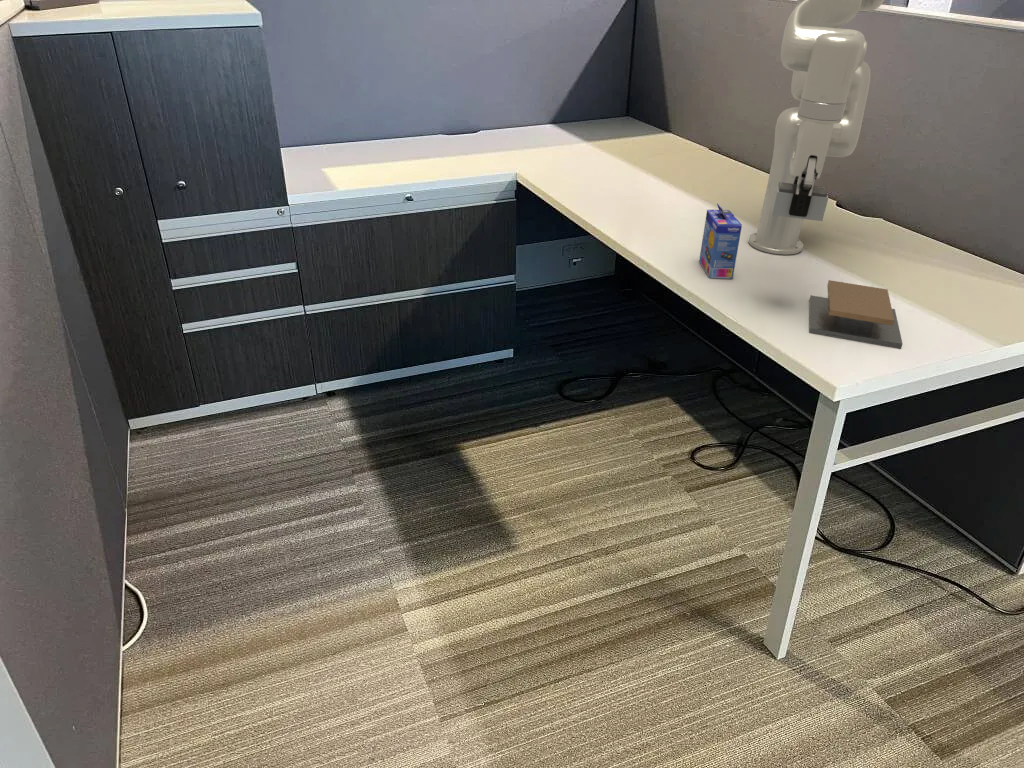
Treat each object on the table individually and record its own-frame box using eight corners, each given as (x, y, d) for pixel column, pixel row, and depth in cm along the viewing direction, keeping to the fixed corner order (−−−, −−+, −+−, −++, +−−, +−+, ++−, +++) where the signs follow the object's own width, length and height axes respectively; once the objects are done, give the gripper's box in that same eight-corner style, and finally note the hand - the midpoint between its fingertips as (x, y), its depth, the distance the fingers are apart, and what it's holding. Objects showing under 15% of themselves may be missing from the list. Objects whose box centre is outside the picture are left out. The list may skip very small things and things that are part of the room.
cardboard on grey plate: (809, 299, 156) (815, 277, 153) (893, 313, 152) (901, 290, 149) (809, 332, 143) (815, 308, 140) (901, 348, 139) (909, 324, 136)
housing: (771, 207, 147) (777, 181, 145) (820, 213, 145) (827, 187, 143) (772, 215, 143) (778, 188, 140) (822, 221, 141) (829, 194, 139)
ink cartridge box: (696, 261, 172) (707, 198, 164) (720, 262, 172) (733, 199, 165) (707, 278, 163) (720, 213, 156) (733, 279, 164) (746, 214, 156)
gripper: (796, 99, 142) (775, 195, 152) (801, 118, 128) (777, 222, 138) (838, 103, 141) (814, 200, 150) (848, 122, 127) (820, 228, 136)
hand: (796, 210), depth 144 cm, fingers closed on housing, 5 cm apart
